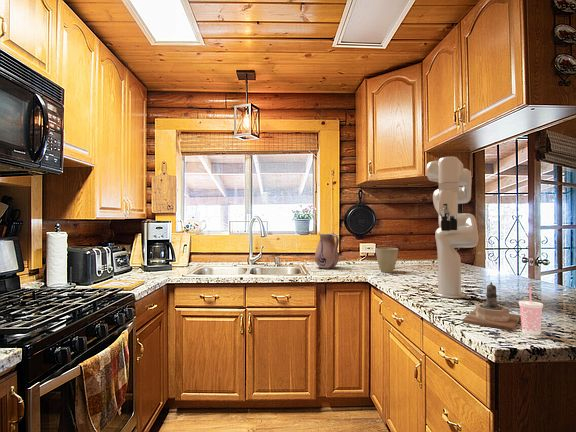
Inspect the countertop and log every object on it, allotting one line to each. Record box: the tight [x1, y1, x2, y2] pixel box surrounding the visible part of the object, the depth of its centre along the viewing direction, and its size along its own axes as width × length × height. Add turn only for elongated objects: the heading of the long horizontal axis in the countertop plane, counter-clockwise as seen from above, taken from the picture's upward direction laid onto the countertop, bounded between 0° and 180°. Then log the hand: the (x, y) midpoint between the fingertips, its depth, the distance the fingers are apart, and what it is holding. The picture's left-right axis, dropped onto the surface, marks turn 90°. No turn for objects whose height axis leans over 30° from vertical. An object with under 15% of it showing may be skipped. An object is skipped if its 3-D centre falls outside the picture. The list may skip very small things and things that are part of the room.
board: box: [462, 303, 521, 332], centre depth 115 cm, size 18×14×4 cm
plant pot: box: [374, 247, 399, 274], centre depth 225 cm, size 15×15×16 cm
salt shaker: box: [482, 281, 502, 310], centre depth 115 cm, size 6×6×12 cm
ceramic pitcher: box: [314, 233, 340, 270], centre depth 246 cm, size 18×21×25 cm
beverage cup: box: [518, 285, 544, 336], centre depth 102 cm, size 6×6×14 cm
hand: (449, 230), depth 135 cm, fingers open, 9 cm apart
